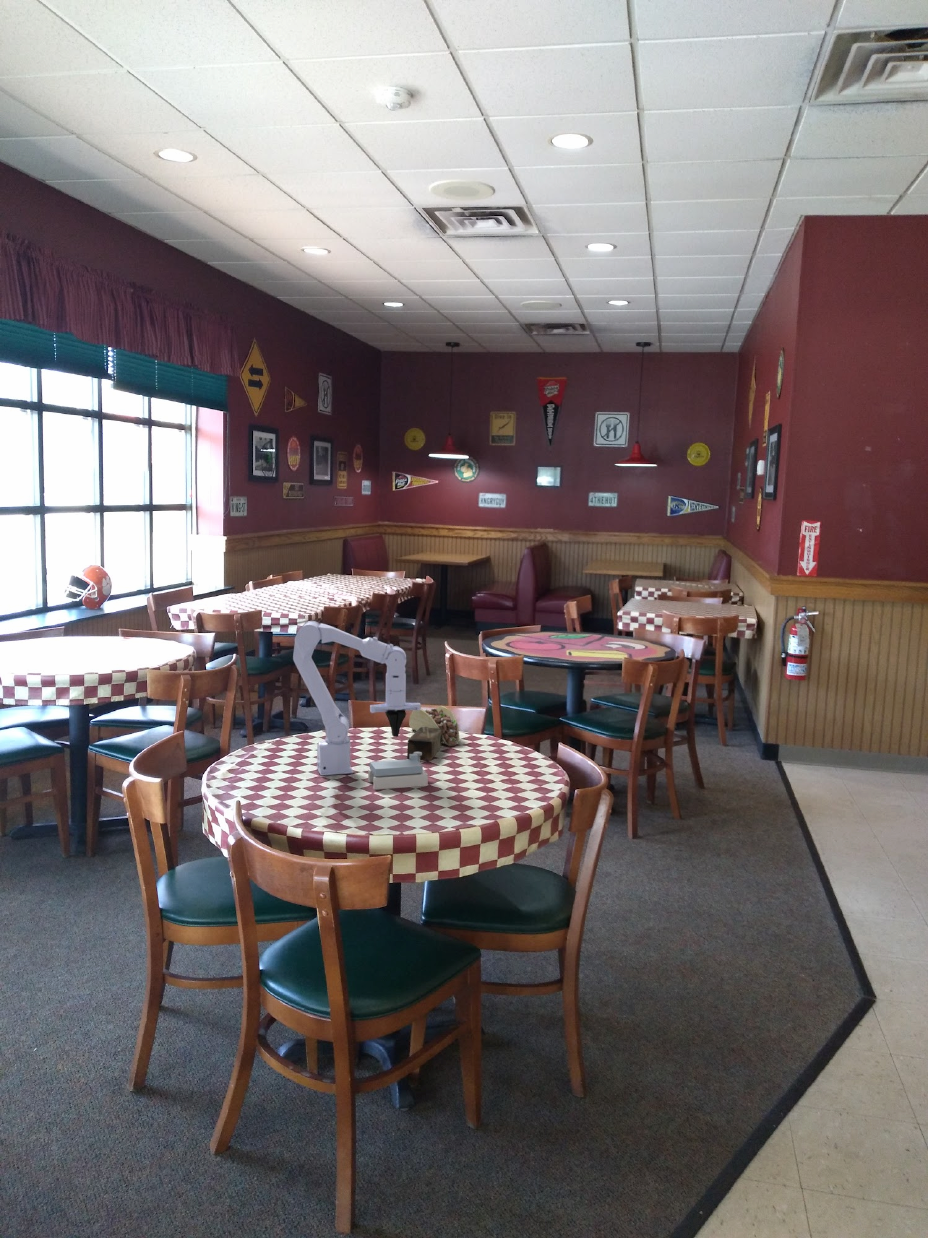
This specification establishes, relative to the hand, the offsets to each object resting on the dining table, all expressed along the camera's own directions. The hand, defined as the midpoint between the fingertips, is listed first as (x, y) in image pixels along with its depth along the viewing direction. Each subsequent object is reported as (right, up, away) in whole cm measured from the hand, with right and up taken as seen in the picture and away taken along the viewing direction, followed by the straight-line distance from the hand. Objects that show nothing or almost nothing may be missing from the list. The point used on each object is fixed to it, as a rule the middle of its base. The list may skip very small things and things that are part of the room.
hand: (395, 735), depth 265 cm
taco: (+10, -6, +42) cm, 43 cm away
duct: (+2, -12, -11) cm, 16 cm away
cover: (+2, -8, -10) cm, 13 cm away
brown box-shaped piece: (+8, -8, +23) cm, 25 cm away
